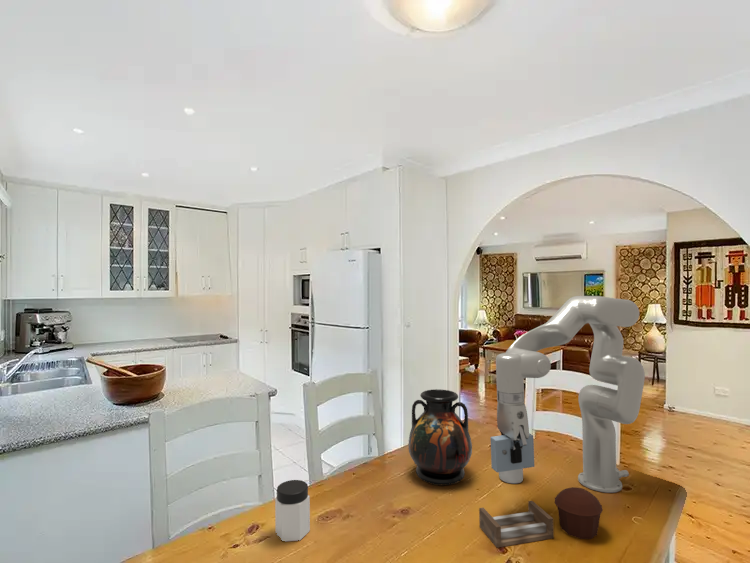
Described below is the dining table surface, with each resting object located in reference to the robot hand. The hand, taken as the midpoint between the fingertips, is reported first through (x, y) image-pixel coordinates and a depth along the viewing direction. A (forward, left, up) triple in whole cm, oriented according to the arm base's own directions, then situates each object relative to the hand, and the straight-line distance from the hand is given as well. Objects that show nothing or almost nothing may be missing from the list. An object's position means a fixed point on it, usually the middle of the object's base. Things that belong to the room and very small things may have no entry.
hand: (512, 459), depth 118 cm
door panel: (0, 0, -2) cm, 2 cm away
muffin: (-11, +13, -15) cm, 22 cm away
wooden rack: (+6, +10, -14) cm, 18 cm away
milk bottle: (-9, -17, -15) cm, 24 cm away
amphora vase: (+13, -25, -15) cm, 31 cm away
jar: (+63, -4, -15) cm, 64 cm away
